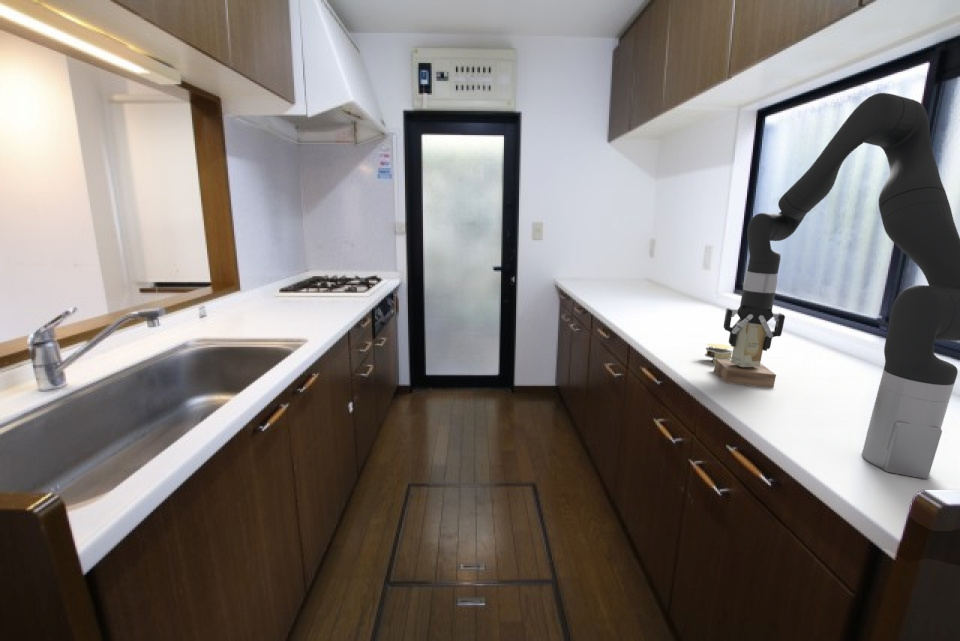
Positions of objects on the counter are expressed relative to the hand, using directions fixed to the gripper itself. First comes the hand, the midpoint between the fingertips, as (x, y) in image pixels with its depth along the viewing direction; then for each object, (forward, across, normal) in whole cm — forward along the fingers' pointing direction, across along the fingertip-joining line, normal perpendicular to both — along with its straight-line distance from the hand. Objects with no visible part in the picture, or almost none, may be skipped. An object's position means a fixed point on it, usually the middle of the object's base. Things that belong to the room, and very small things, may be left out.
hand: (748, 348), depth 126 cm
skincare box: (+5, 0, 0) cm, 5 cm away
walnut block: (+9, 0, 0) cm, 9 cm away
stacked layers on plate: (+10, -5, +15) cm, 18 cm away
